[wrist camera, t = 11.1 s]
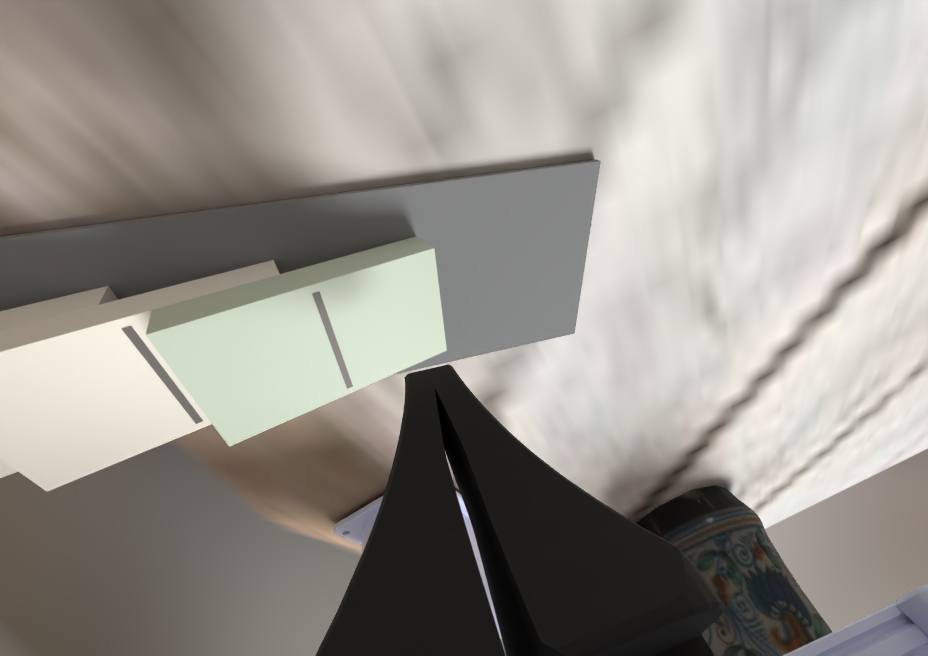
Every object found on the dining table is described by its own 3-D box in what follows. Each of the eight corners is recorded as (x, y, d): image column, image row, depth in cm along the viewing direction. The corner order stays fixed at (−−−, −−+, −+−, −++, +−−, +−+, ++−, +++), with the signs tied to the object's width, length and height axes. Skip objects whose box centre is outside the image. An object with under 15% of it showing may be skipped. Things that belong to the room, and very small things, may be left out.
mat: (595, 159, 15) (600, 161, 15) (570, 329, 20) (574, 333, 20) (-738, 331, 8) (-779, 341, 8) (-263, 517, 14) (-277, 527, 13)
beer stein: (751, 466, 40) (1145, 836, 20) (703, 540, 52) (925, 822, 32) (623, 514, 38) (929, 985, 18) (603, 580, 49) (776, 912, 29)
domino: (280, 274, 12) (-110, 382, 9) (322, 379, 15) (46, 492, 11) (273, 259, 13) (-72, 348, 10) (314, 358, 16) (61, 456, 13)
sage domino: (434, 248, 13) (145, 335, 10) (447, 350, 16) (229, 447, 12) (415, 236, 14) (151, 309, 11) (430, 333, 17) (226, 417, 14)
